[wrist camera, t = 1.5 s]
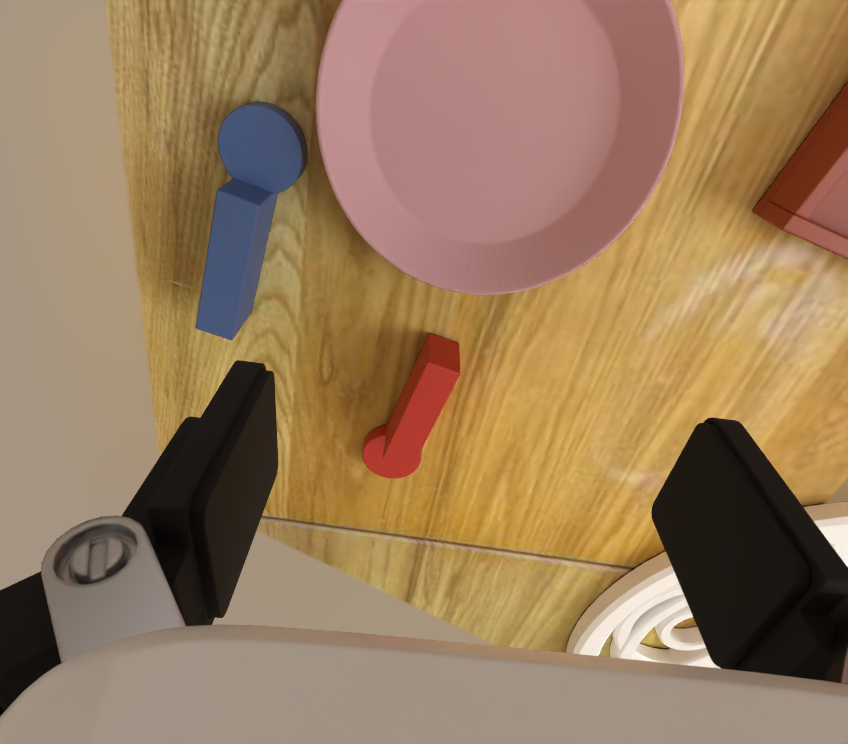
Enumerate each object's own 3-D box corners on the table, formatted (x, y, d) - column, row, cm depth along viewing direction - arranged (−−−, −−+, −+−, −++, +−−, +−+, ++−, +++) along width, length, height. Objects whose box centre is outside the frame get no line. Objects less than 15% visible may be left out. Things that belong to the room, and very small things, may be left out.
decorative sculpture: (921, 523, 35) (940, 543, 33) (667, 713, 50) (672, 731, 49) (729, 463, 32) (741, 482, 31) (525, 681, 48) (527, 700, 47)
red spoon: (410, 474, 34) (406, 509, 31) (357, 458, 33) (350, 492, 31) (474, 348, 28) (477, 379, 26) (413, 326, 28) (409, 356, 25)
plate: (293, -80, 19) (278, -91, 17) (702, -122, 18) (728, -137, 16) (351, 285, 27) (345, 302, 25) (637, 271, 26) (650, 288, 24)
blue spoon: (233, 88, 22) (205, 95, 19) (316, 122, 22) (299, 133, 20) (200, 295, 27) (175, 322, 25) (268, 318, 28) (250, 347, 25)
